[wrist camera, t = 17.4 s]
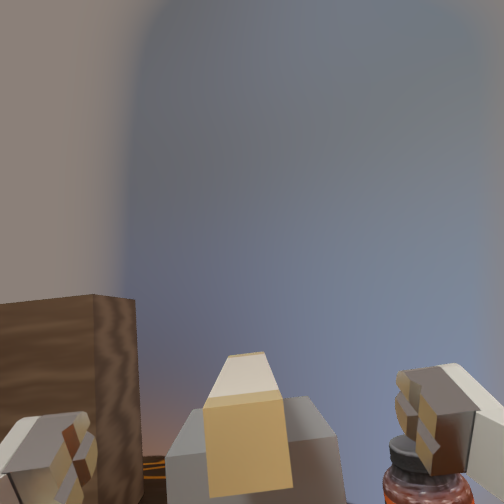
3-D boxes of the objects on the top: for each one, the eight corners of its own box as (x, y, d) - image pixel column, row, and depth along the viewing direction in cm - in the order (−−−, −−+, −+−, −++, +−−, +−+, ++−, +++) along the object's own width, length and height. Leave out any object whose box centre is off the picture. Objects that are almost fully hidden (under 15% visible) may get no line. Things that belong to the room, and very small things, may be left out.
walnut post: (99, 569, 32) (92, 294, 37) (-9, 583, 32) (-2, 304, 36) (144, 492, 46) (135, 299, 51) (69, 502, 46) (67, 307, 50)
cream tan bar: (293, 487, 15) (282, 399, 15) (209, 498, 14) (202, 408, 15) (267, 388, 34) (263, 351, 35) (232, 392, 34) (228, 355, 35)
